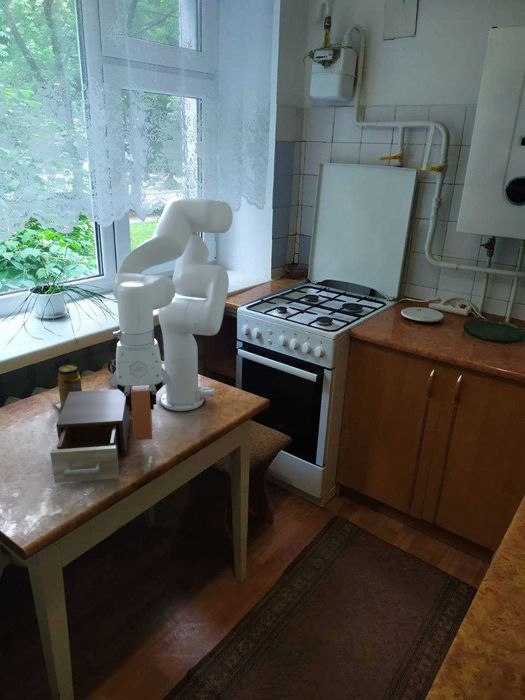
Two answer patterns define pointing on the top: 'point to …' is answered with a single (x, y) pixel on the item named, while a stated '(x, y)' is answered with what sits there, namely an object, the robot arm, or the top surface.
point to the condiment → (68, 382)
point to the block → (141, 412)
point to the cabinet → (96, 412)
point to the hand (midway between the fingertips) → (141, 406)
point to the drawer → (86, 454)
